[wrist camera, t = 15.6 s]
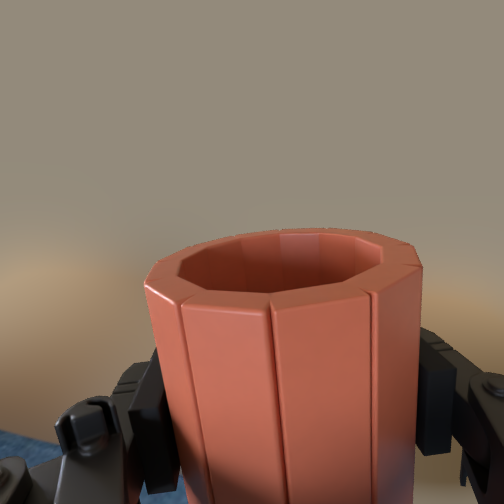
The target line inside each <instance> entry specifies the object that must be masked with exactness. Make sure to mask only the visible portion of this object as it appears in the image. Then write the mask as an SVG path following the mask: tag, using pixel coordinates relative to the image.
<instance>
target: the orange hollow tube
mask: <svg viewBox="0 0 504 504" xmlns="http://www.w3.org/2000/svg"><path fill="white" fill-rule="evenodd" d="M422 277H423V266H422V264H421V262H420V260H419V257H418V255H417V253H416V251H415V248H414V246H412V245H410V244H409V243H406V242H402V241H399V240H396V239H393V238H390V237H387V236H384V235H381V234H378V233H373V232H369V231H359V230H348V229H337V228H328V229H325V228H306V229H305V228H303V229H282V230H280V231H279V230H270V231H263V232H254V233H247V234H239V235H236V236H235V237H234V236H229V237H225V238H221V239H216V240H212V241H208V242H205V243H201V244H196V245H194V246H192V247H187V248H185V249H183V250H180V251H178V252H176V253H174V254H172V255H170V256H168V257H165V258H163V259H161V260H159V261H158V262H157V263H155V264H154V266H153V267H152V269H151V271H150V272H149V274H148V276H147V277H146V279H145V281H144V288H145V293H146V298H147V302H148V307H149V312H150V317H151V322H152V327H153V332H154V337H155V342H156V347H157V352H158V357H159V362H160V366H161V371H162V376H163V381H164V386H165V391H166V396H167V401H168V406H169V410H170V415H171V420H172V425H173V430H174V435H175V440H176V445H177V449H178V454H179V459H180V464H181V468H182V474H183V479H184V484H185V489H186V493H187V498H188V503H189V504H413V485H414V463H415V440H416V417H417V393H418V370H419V347H420V324H421V323H420V322H421V300H422Z"/></svg>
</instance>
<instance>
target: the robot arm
mask: <svg viewBox="0 0 504 504" xmlns="http://www.w3.org/2000/svg"><path fill="white" fill-rule="evenodd" d="M54 427H55V430H56V433H57V436H58V439H59V443H60V446H61V449H62V452H63V455H62V456H59V457H57V458H55V459H52V460H50V461H47V462H45V463H42V464H39V465H37V466H34V467H31V468H29V469H28V468H27V465H26V462H25V459H23V458H21V457H19V456H14V457H6V458H3V459H0V504H141V503H140V499H139V496H140V492H141V489H142V485H143V482H144V480H145V484H146V488H147V493H148V495H150V494H157V493H164V492H171V491H176V488H177V483H178V477H179V471H180V466H181V464H180V459H179V454H178V449H177V445H176V440H175V435H174V430H173V425H172V420H171V415H170V410H169V406H168V401H167V396H166V391H165V386H164V381H163V376H162V371H161V366H160V362H159V357H158V352H157V347H156V349H155V351H154V353H153V355H152V357H151V360H150V361H148V362H140V363H134V364H133V365H132V366H131V367H129V368H128V369H127V370H126V371H125V372H124V373H123V374H122V376H121V378H120V380H119V382H118V383H117V386H116V387H115V389H114V391H113V393H112V395H111V396H110V397H108V396H96V397H91V398H87V399H85V400H83V401H81V402H78V403H76V404H75V405H73V406H72V407H70V408H69V409H67V410H66V411H65V412H64V413H63V414H62V415H61V417H59V418H58V420H57V422H56V424H55V426H54ZM452 436H453V437H454V438H455V439H456V440H457V441H458V443H459V444H460V445H461V446H462V447H463V448H462V460H461V470H460V483H461V486H466V477H467V476H468V478H469V481H470V483H471V486H472V489H473V491H474V494H475V496H476V499H477V502H478V504H504V375H501V374H496V373H490V372H483V371H482V370H480V369H479V368H478V367H477V366H475V365H474V364H473V363H472V362H470V361H469V360H468V359H466V358H465V357H464V356H463V355H461V354H460V353H459V352H458V351H456V350H453V347H451V346H450V345H449V344H447V343H445V342H444V340H442V339H441V338H440V337H438V336H437V335H436V334H435V333H433V332H431V331H429V330H426V329H424V328H422V327H420V347H419V370H418V393H417V417H416V440H415V443H416V445H417V446H418V448H419V449H420V451H421V452H422V454H423V455H424V456H429V455H436V454H443V453H450V451H451V439H452Z"/></svg>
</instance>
